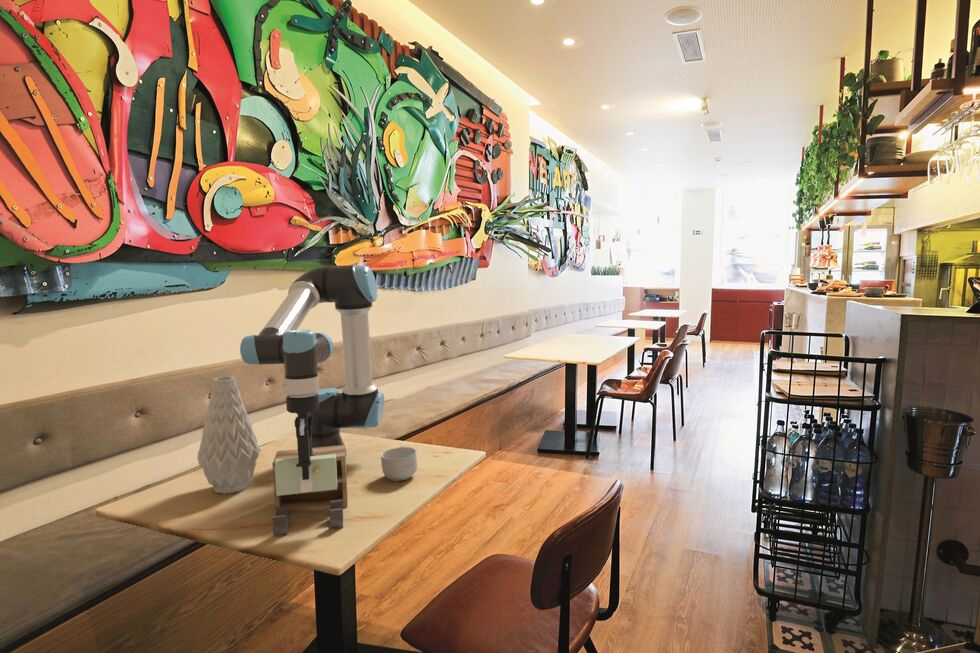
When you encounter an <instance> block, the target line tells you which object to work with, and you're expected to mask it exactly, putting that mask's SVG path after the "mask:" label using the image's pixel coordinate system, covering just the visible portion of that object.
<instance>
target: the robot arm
mask: <svg viewBox="0 0 980 653" xmlns="http://www.w3.org/2000/svg"><path fill="white" fill-rule="evenodd" d="M377 297H378V287H377V281H376V278H375V275H374V272H373V270H372V268H370V267H369V266H368V265H367V266H366V265H358V264H353V265H351V264H350V265H349V264H348V265H345V264H344V265H322V266H317V267H315V268H314V267H313V268H312V269H309V270H308V271H306V272H304V273H303V274H301V275H299V277H297V278H296V279H295V280H294V281H293V282H292V283H291V285H290V286H289V287H288V291H287V295H286V297H285V299H284V300H282V302H281V304H280V305H279V307H278V308H277V310H276V311H275V312H274V313H273V315H272V316H271V318H270V319H269V320H268V322H266V324H265V326H264V327H263V328H262V330H261V331H260V332H259V333H258V334H257V335H255V334H252V335H246V336H245V337H243V338H242V339H241V342H240V346H239V354H240V357H241V359H242V361H243V363H245V364H247V365H259V366H261V365H283V367H284V380H285V381H283V382H282V386H286V387H285V394H286V395H287V396H286V398H285V404H286V406H285V407H286V411H287V412H288V413H290V414H295V415H297V416H296V417H295V419H294V427H295V436H296V442H297V443H296V444H297V449H298V460H299V463H298V464H296V467H299V468H300V487H301V493H302V492H311V491H313V486H312V466H311V462H310V456H315V455H312V452H313V450H312V448H316V447H327V446H338V445H345V443H344V440H343V439H342V436H341V431H340V430H341V429H368V428H369V429H370V428H377V427H378V426H379V425H380V423H381V420H382V417H383V414H384V409H385V408H384V407H385V394H384V393H383V392H381V391H379V387H378V385H377V384H376V383H375V382H373V380H374V379H373V369H372V368H373V367H372V355H371V341H370V340H371V339H370V338H371V337H370V326H369V325H370V324H369V311H370V310H371V309H372V307H373V303H374V302H376V301H377ZM322 303H333V304H334V309H335V311H337V312H338V313H339V314H340V322H341V334H342V335H341V336H342V348H343V358H344V370H345V371H344V372H345V386H344V387H343V388H342V389H341V392H342V393H341V392H339V390H338V388H336V387H328V388H321V389H320V388H319V375H318V374H319V372H318V364H319V363H323V362H325V361H327V360H328V359H329V358H331V356H332V355H333V352H334V342H333V339H332V338H331V337H330V336H329V335H328V334H325V333H321V332H318V333H317V332H315V331H314V330H313V329H299V327H300V326H301V325H302V323H303V321H304V320H305V318H306V317H307V315H308V314H309V312H310V310H311V309H314V308H315V307H316V306H318V305H319V304H322ZM345 451H346V452H347V449H346V447H345Z"/></svg>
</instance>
